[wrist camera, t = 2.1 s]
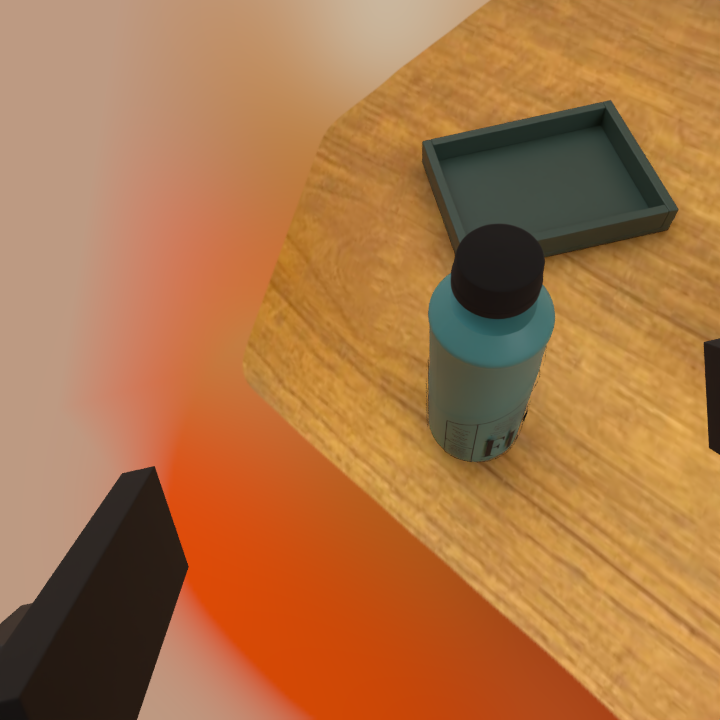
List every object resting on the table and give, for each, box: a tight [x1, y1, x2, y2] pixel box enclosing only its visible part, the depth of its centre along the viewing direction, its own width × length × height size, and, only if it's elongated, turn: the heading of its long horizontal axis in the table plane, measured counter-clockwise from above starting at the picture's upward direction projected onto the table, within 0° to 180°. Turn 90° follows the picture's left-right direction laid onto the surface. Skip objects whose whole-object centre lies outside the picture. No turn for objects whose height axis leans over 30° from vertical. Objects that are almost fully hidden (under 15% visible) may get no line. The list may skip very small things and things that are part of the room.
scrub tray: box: [422, 100, 678, 257], centre depth 52 cm, size 18×14×2 cm
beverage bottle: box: [426, 224, 555, 462], centre depth 35 cm, size 6×7×20 cm
